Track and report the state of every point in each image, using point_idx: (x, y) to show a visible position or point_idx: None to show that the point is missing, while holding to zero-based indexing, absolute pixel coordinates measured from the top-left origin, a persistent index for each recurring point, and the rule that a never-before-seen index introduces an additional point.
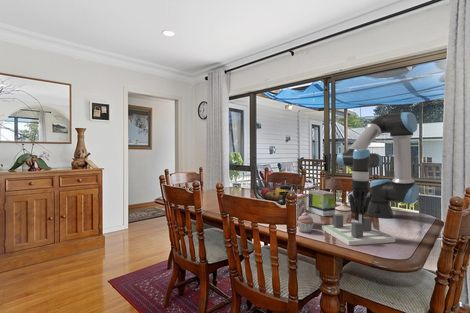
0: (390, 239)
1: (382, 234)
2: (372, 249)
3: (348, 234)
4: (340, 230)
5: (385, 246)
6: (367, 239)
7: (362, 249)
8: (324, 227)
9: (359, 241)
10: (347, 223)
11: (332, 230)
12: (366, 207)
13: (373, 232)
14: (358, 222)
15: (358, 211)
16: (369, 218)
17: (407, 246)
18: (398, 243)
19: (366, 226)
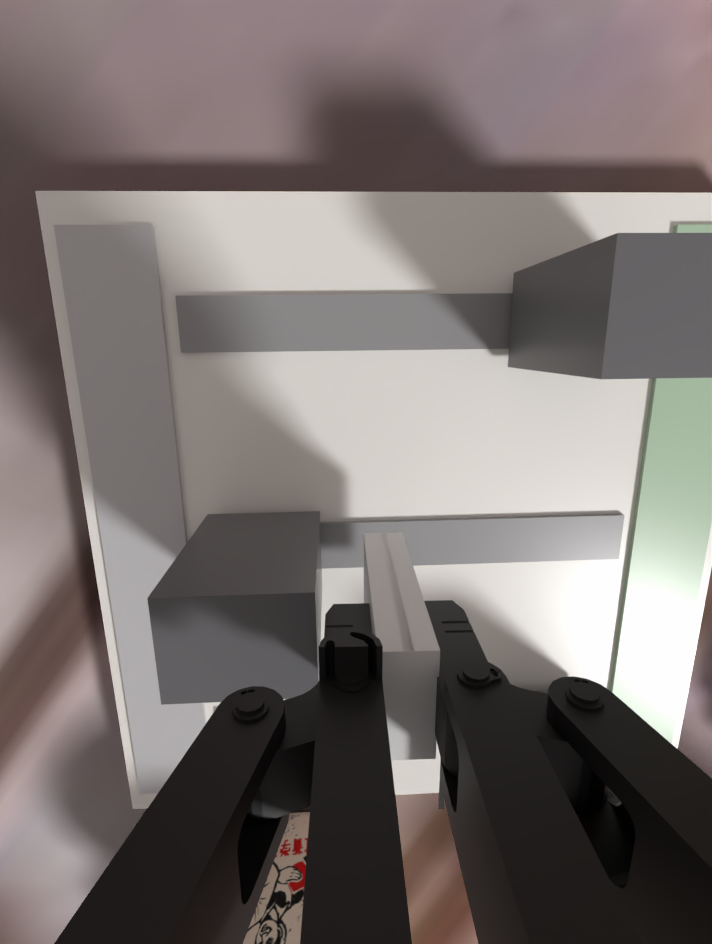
0: (129, 196)
1: (147, 348)
2: (553, 8)
3: (596, 440)
4: (584, 596)
5: (310, 78)
6: (493, 202)
7: (673, 38)
8: (678, 726)
9: (614, 196)
10: (299, 838)
11: (692, 598)
12: (211, 823)
13: (212, 463)
14: (627, 367)
15: (488, 712)
16: (195, 603)
17: (4, 9)
18: (58, 150)
19: (282, 533)
